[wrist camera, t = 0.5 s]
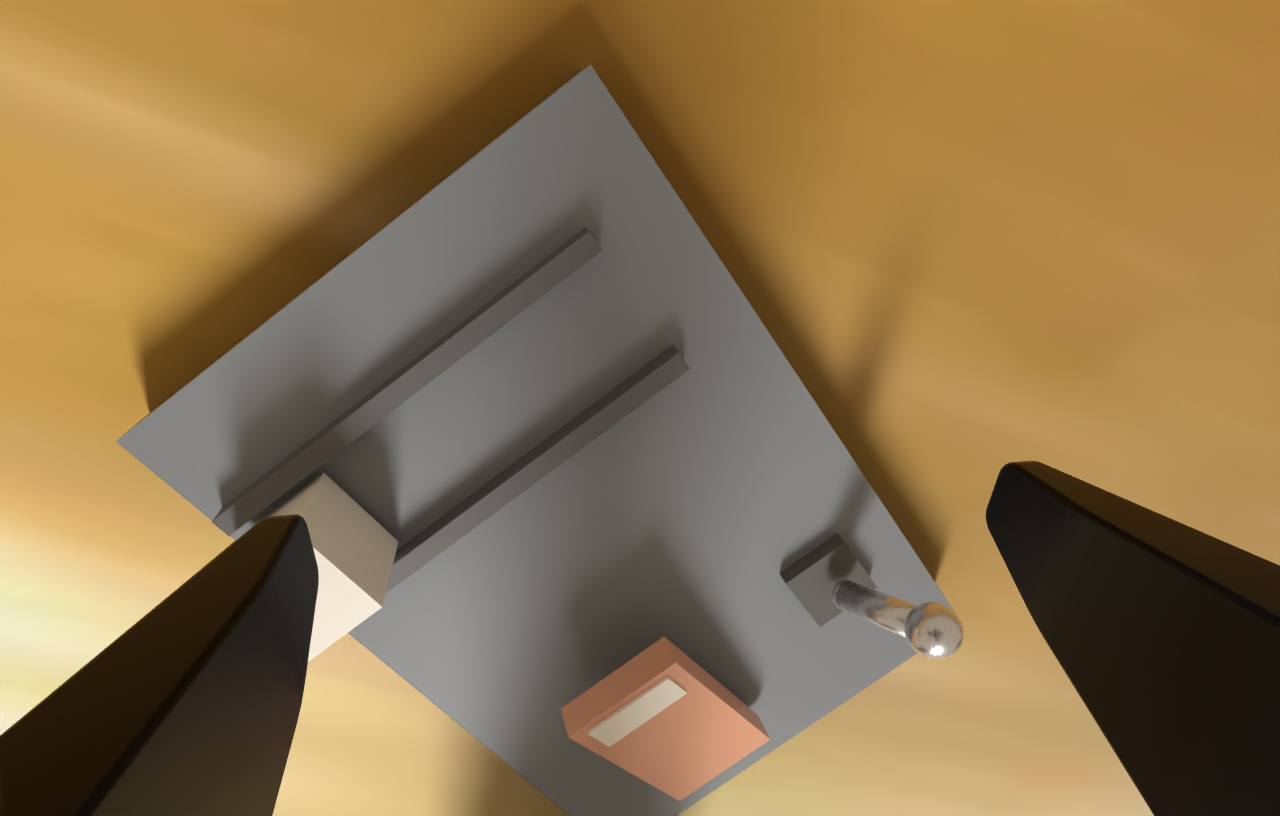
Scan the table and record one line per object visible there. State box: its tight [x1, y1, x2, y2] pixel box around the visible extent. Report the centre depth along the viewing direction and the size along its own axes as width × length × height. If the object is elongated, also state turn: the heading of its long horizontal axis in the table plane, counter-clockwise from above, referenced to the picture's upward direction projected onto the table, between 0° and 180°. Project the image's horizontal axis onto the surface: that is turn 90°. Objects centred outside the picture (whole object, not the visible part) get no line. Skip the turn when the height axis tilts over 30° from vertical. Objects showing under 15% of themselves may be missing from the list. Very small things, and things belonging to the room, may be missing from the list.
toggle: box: [831, 580, 964, 660], centre depth 23 cm, size 2×2×5 cm
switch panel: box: [116, 64, 962, 816], centre depth 24 cm, size 16×23×3 cm
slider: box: [246, 473, 399, 662], centre depth 20 cm, size 3×3×3 cm
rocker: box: [561, 637, 770, 801], centre depth 25 cm, size 4×7×1 cm, turn 35°
